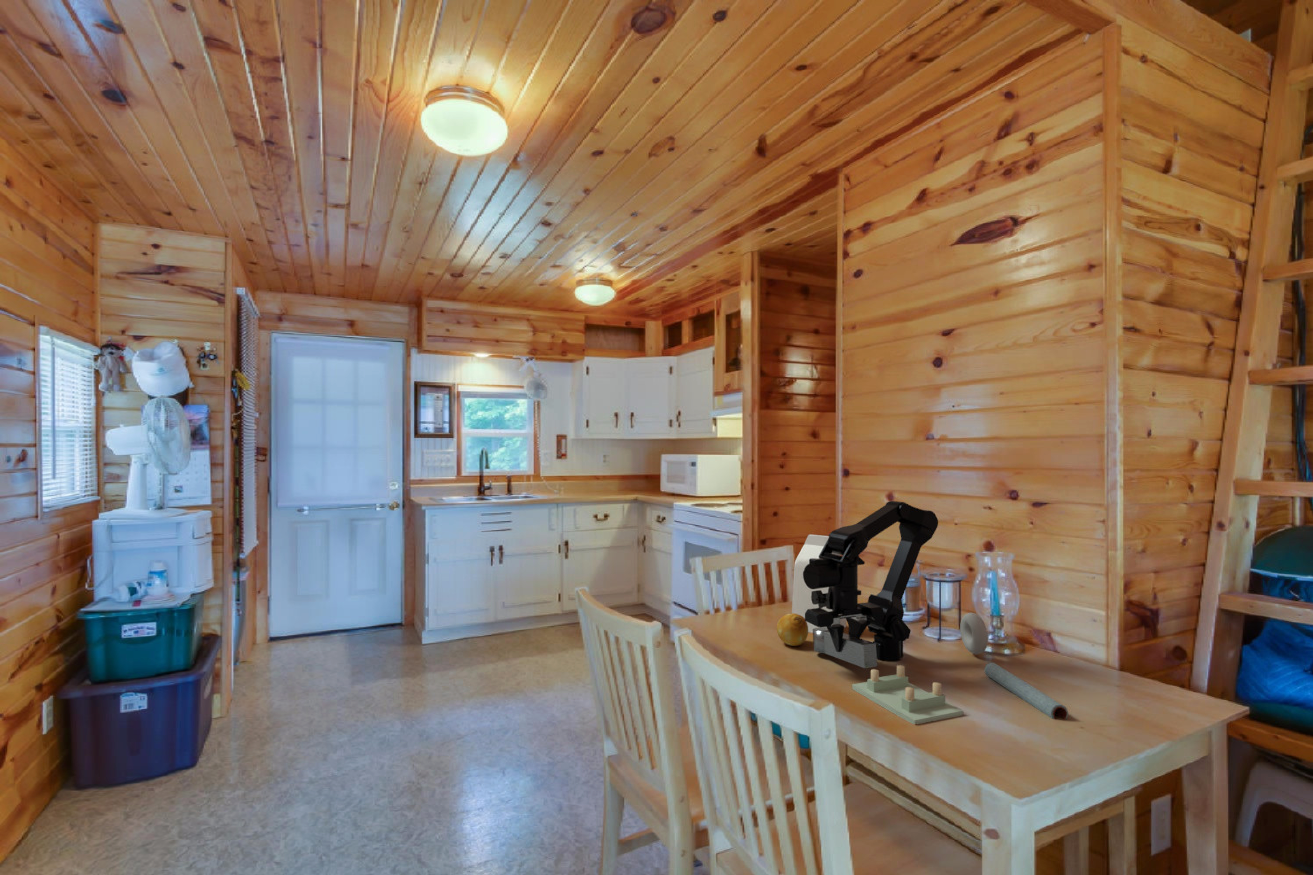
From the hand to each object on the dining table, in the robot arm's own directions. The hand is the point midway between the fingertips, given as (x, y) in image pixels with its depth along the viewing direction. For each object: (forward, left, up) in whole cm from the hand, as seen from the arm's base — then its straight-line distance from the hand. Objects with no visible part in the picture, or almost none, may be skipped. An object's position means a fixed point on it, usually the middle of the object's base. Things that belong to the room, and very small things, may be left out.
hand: (844, 650), depth 146 cm
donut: (-36, +4, -4) cm, 36 cm away
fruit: (+3, -17, -4) cm, 18 cm away
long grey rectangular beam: (0, +2, -1) cm, 2 cm away
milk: (-12, -27, -4) cm, 30 cm away
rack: (+1, +21, -4) cm, 21 cm away
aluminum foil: (-26, +27, -4) cm, 38 cm away
